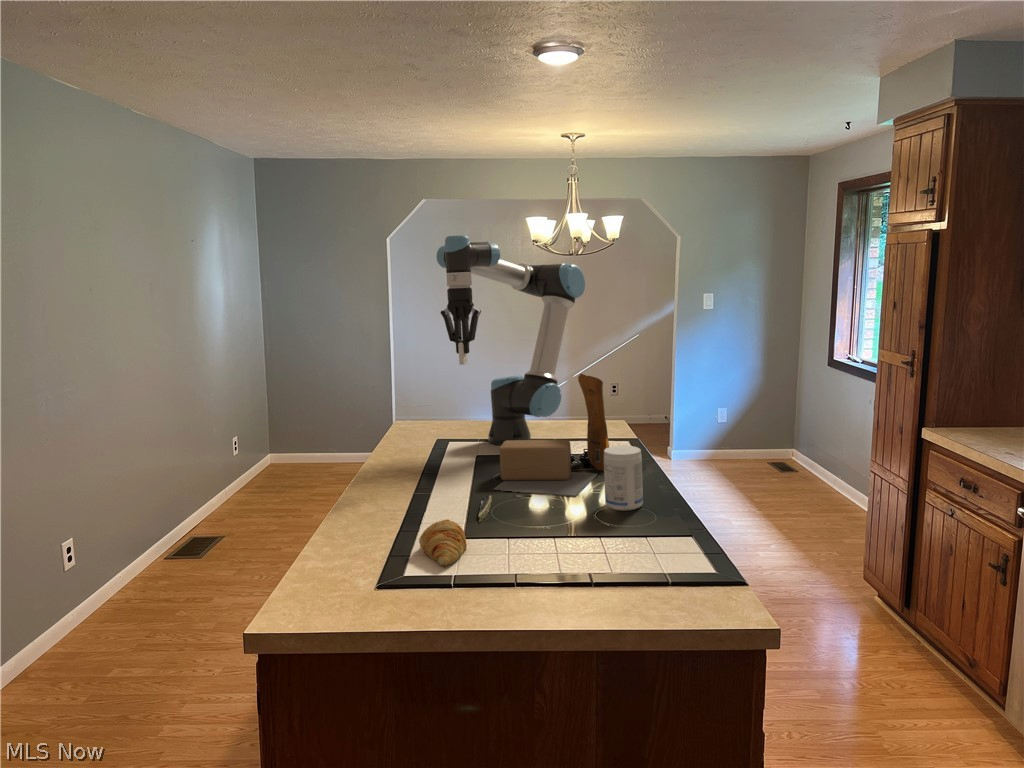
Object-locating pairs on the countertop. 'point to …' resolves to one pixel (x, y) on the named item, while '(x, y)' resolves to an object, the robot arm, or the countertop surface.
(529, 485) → the mat
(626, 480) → the supplement tub
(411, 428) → the countertop surface
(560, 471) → the wooden block
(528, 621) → the countertop surface
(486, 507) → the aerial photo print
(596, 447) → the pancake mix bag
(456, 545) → the croissant
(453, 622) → the countertop surface
